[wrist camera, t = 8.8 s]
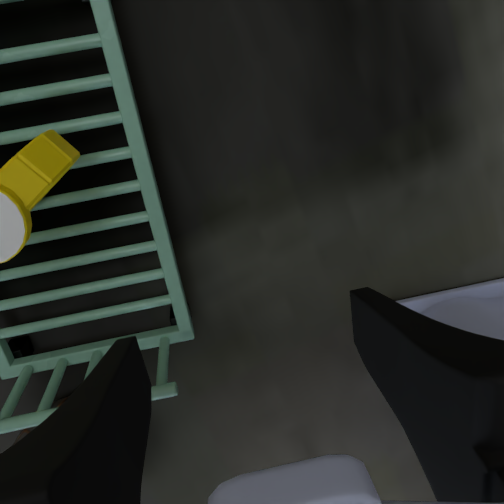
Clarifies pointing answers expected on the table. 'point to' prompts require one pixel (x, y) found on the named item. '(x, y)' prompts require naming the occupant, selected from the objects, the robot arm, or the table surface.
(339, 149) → the table surface
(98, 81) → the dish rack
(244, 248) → the table surface
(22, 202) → the watch
